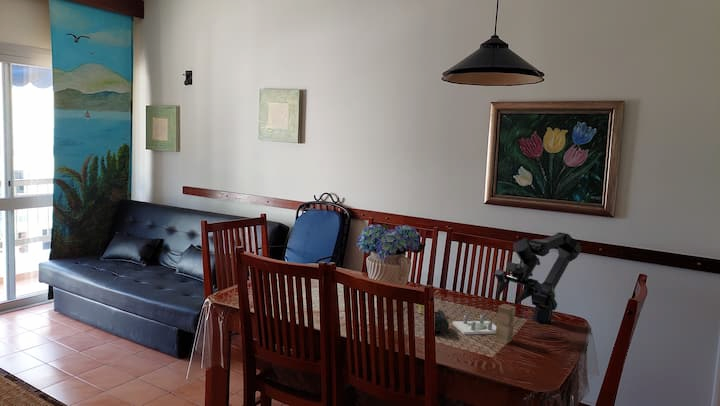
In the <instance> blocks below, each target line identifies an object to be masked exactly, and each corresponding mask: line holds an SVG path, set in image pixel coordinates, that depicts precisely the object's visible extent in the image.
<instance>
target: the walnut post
mask: <svg viewBox="0 0 720 406" xmlns="http://www.w3.org/2000/svg"><path fill="white" fill-rule="evenodd" d="M515 315H516V306H513V305H509V304H507V303H504V304H501V305H497V318H496V324H495V326H496V334H495V337H494V339H495V341H496V342H500V343H501V344H505V345H507V344H509V343H511V342H512V341H513V334H514V325H515Z"/></svg>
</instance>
